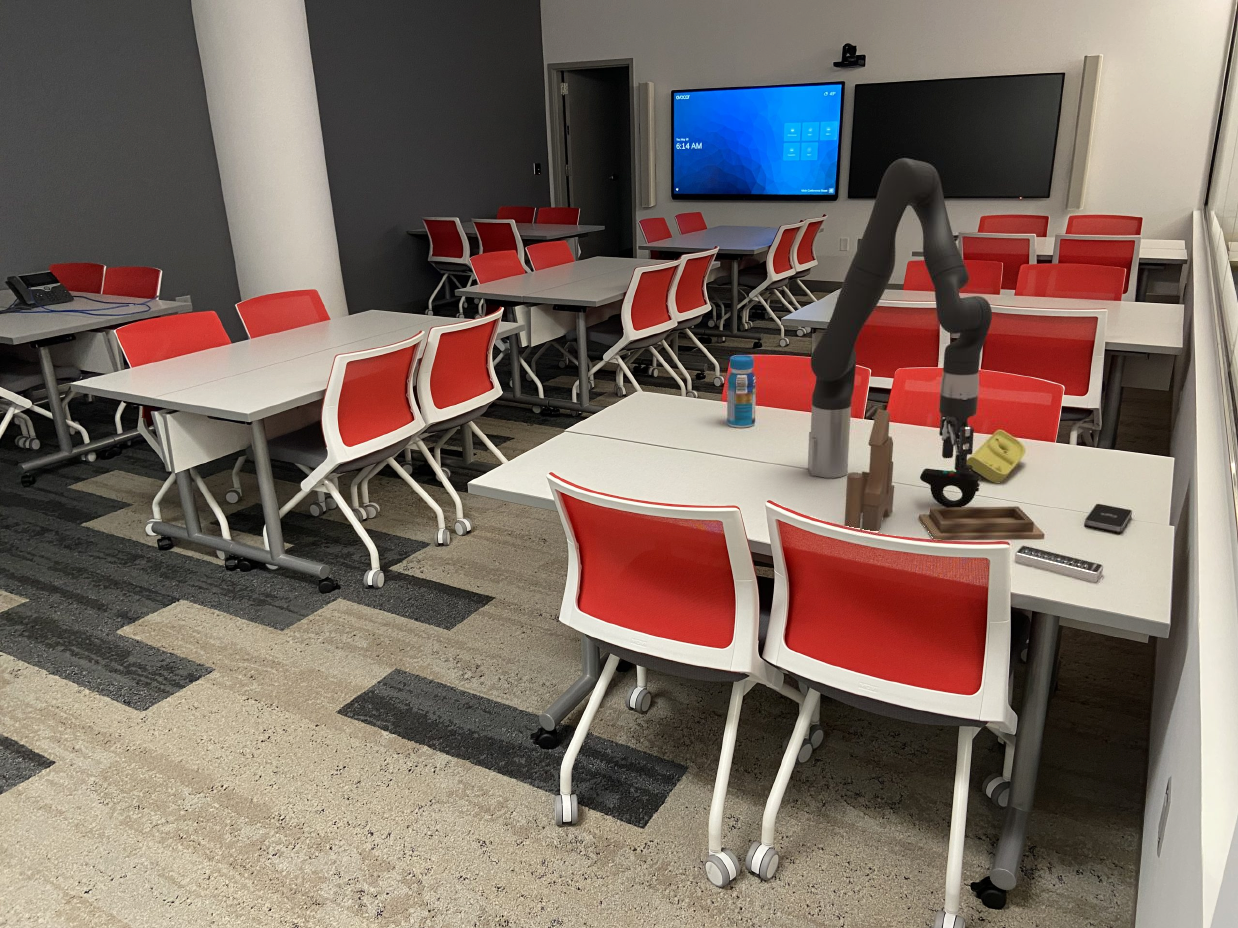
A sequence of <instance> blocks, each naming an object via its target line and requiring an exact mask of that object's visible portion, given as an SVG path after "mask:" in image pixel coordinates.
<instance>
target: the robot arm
mask: <svg viewBox="0 0 1238 928" xmlns="http://www.w3.org/2000/svg"><path fill="white" fill-rule="evenodd" d="M942 187H943V186H942V183H941V178H940V176H939V172H938V171H937V170H936V168H935V166H933V165H932V164H931V163H929V162H925V161H921V160H915V159H911V158H907V157H903V158H898V159H897V160H895V161H893V162H892V163H891V164H890V165H889V166H888V167H887V169H886V170H885V171H884V174H883V176H882V179H881V182H880V184H879V188H878V191H877V195H876V198H875V202H874V205H873V207H872V210H871V213H870V216H869V220H868V222H867V223H866V227H865V229H864V232H863V235H862V237H861V239H860V242H859V244H858V247H857V250H856V251H855V254H854V257H853V258H852V260H851V262H850V265H849V267H848V271H847V273H846V275H845V277H844V280H843V283H842V284H841V288H840V291H839V294H838V296H837V299H836V302H835V305H834V309H833V312H832V314H831V317H830V319H829V322H828V324H827V326H826V328H825V330H824V332H822V333H823V334H822V335H821V337H820V339H819V341H818V342H817V344H816V346H815V348H814V349H813V351H812V354H811V357H810V367H811V371H812V373H813V374H814V376H815V385H814V389H813V392H812V395H811V418H810V420H811V422H810V431H809V433H808V451H807V453H808V454H807V455H808V456H807V469H808V471H809V474H810V476H811V477H820V478H825V479H826V478H828V479H829V478H830V479H833V478H836V479H837V478H841V477H844V476H847V475H848V473H849V472H848V471H849V469H848V467H849V452H850V450H849V449H850V446H849V445H850V435H851V434H850V431H851V414H852V413H851V412H852V398H853V395H854V390H855V383H856V382H855V379H856V369H857V368H856V366H857V353H856V350H855V345H856V343H857V340H858V337H859V335H860V333H861V331H862V329H863V327H864V326H865V324H866V323H867V321H868V319H869V318H870V316H871V315H872V313H873V312H874V310H875V309H876V307H877V305H878V303H879V302H880V300H881V298H882V296H883V295H884V293H885V290H886V289H887V286H888V284H889V282H890V279H891V277H892V275H893V272H894V269H895V265H896V238H897V237H896V236H897V230H898V228H899V225H900V223H901V220H902V217H903V215H904V213H905V211H906V209H907V207H908V206H910V207H911V208H912V209H913V211H914V213H915V215H916V217H917V218H918V220H919V223H920V227H921V230H922V254H923V260H924V264H925V267H926V269H927V273H928V275H929V278H930V280H931V282H932V285H933V288H934V297H935V305H936V306H935V307H936V308H935V309H936V316H937V320H938V324H939V325H940V327H941V328H942V329H943V330H944V331H945V332H947V333H949V334H955V335H956V334H959V336H958V338H957V339H956V340H955V341H953V342H951V343H949V344H948V345H946V347H945V349H944V355H943V367H942V376H941V381H940V393H939V394H940V396H939V405H938V406H939V407H938V412H939V413H940V422H939V423H940V424H939V432H938V433H939V434H938V435H939V436H940V437H941V441H942V451H941V457H942V458H943V459H952V458H953V457H955V460H954V471H955V472H956V471H957V472H961V471H965V470H966V464H967V459H968V456H969V455H971V456H972V455H973V453H974V452H973V448H974V447H973V445H974V434H975V433H974V431H975V429H974V426H970V425H969V422H968V421H969V420H968V419H969V418H971V417H972V418H973V417H974V416H976V415H977V411H978V399H979V388H980V387H979V386H980V377H979V373H980V371H979V370H980V359H981V352H982V349H983V346H984V345H985V343H986V342H985V341H986V340H987V335H988V334H989V333H988V332H989V330H990V327H991V323H992V319H993V311H992V307H991V304H990V303H989V301H988V299H986V298H985V297H984V296H981V295H980V296H979V295H974V296H967V297H966V296H965V297H961V296H960V290H961V289H963V288H964V287H966V286H967V284H969V281H970V275H969V272H968V270H967V267H966V265H965V262H964V259H963V257H962V255H961V252H960V250H959V247H958V245H957V243H956V239H955V237H954V233H953V230H952V226H951V222H950V219H949V216H948V210H947V206H946V201H945V197H944V192H943V188H942ZM954 449H955V456H954Z"/></svg>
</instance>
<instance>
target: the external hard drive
mask: <svg viewBox="0 0 1238 928" xmlns="http://www.w3.org/2000/svg"><path fill="white" fill-rule="evenodd" d="M1132 515H1133V510H1131V509H1127V508H1123V507H1118V506H1112V505H1108V504H1107V505H1106V504H1102V503H1095V505H1094V507H1093V508H1092V509H1091V510H1090V512H1089V513H1088V514H1087V516H1086V517H1085V518H1084V528H1086V529H1090V530H1095V531H1098V532H1103V533H1109V534H1114V535H1121V534H1122V533H1123V531H1124V530H1125V528H1126V526H1127V525H1128V523H1129V522H1130V520H1131V519H1132Z"/></svg>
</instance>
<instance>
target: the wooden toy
mask: <svg viewBox="0 0 1238 928" xmlns="http://www.w3.org/2000/svg"><path fill="white" fill-rule="evenodd" d="M890 417H891V412H890V410H885V409H884V410H881V409H878V410H877V411H876V413H875V417H874V421H873V424H872V429H871V431H870V432H871V433H870V435H869V440H868V446H869V447H870V451H869V452H870V453H869V469H868V471H861V472H853V471H852V472H848V473H847V474H846V490H845V505H844V507H845V509H844V526H849V527H854V528H860V529H861V530H862V529H864V530H870V531H879V530H880V531H881V529H882V522H883V518H887V517H888V518H890V516H891V514H892V513H893V509H894V508H893V507H894V497H895V495H894V494H895V485H894V484H893V475H894V474H893V473H894V461H893V455H894V454H893V453H894V441H893V437H892V436H890V435H889V431H890V420H891V419H890ZM861 519H862V520H861ZM880 528H881V529H880ZM880 531H879V532H880Z"/></svg>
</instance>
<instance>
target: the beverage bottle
mask: <svg viewBox="0 0 1238 928" xmlns="http://www.w3.org/2000/svg"><path fill="white" fill-rule="evenodd" d="M754 361H755V360H754V356H752V355H748V354H736V355H732V356H730V358H729V368H730V372H729V374H728V376H727V379H726V380H727V384H728V385H727V387H726V394H727V395H726V397H727V399H726V401H727V402H726V403H727V404H726V405H727V409H726V410H727V411H726V412H727V415H726V423H727V425H728V426H729V427H732V428H737V429H743V428H744V429H745V428H751V427H754V425H755V424H756V402H757V401H756V398H757V397H756V396H757V394H756V393H757V386H756V382H757V379H756V376H755V374H754V372H753V369H754V366H755V365H754V364H755V362H754Z"/></svg>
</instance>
